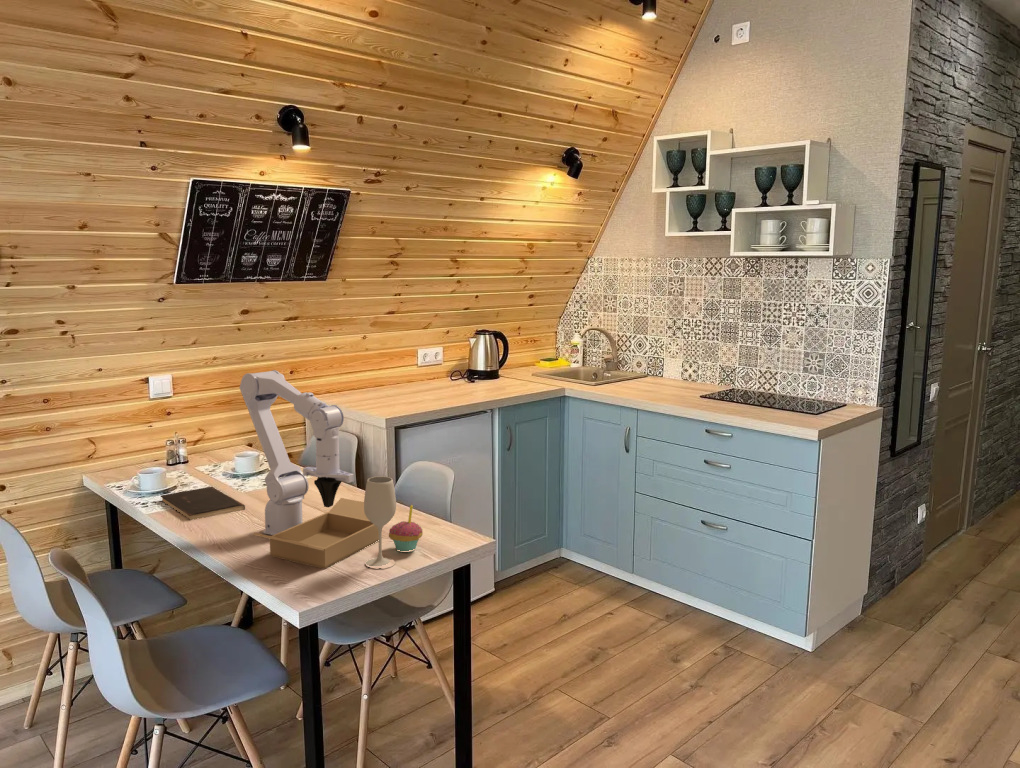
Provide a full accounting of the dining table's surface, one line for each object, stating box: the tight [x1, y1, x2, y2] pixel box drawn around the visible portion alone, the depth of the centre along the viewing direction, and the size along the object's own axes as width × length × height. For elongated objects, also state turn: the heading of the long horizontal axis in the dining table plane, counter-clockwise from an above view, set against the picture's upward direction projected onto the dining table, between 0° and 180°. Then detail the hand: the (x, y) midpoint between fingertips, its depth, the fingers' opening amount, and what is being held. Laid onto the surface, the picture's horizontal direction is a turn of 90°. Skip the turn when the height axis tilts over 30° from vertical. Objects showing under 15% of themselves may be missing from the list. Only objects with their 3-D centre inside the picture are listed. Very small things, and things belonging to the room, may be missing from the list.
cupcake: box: [388, 503, 424, 551], centre depth 197 cm, size 9×8×12 cm
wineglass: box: [363, 475, 397, 566], centre depth 187 cm, size 8×8×21 cm
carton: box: [269, 511, 379, 570], centre depth 198 cm, size 17×22×5 cm
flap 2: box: [328, 497, 369, 520], centre depth 209 cm, size 17×6×1 cm, turn 64°
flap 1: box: [253, 532, 324, 551], centre depth 185 cm, size 17×6×1 cm, turn 64°
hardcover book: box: [160, 486, 246, 521], centre depth 230 cm, size 16×23×2 cm
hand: (328, 506), depth 199 cm, fingers closed
